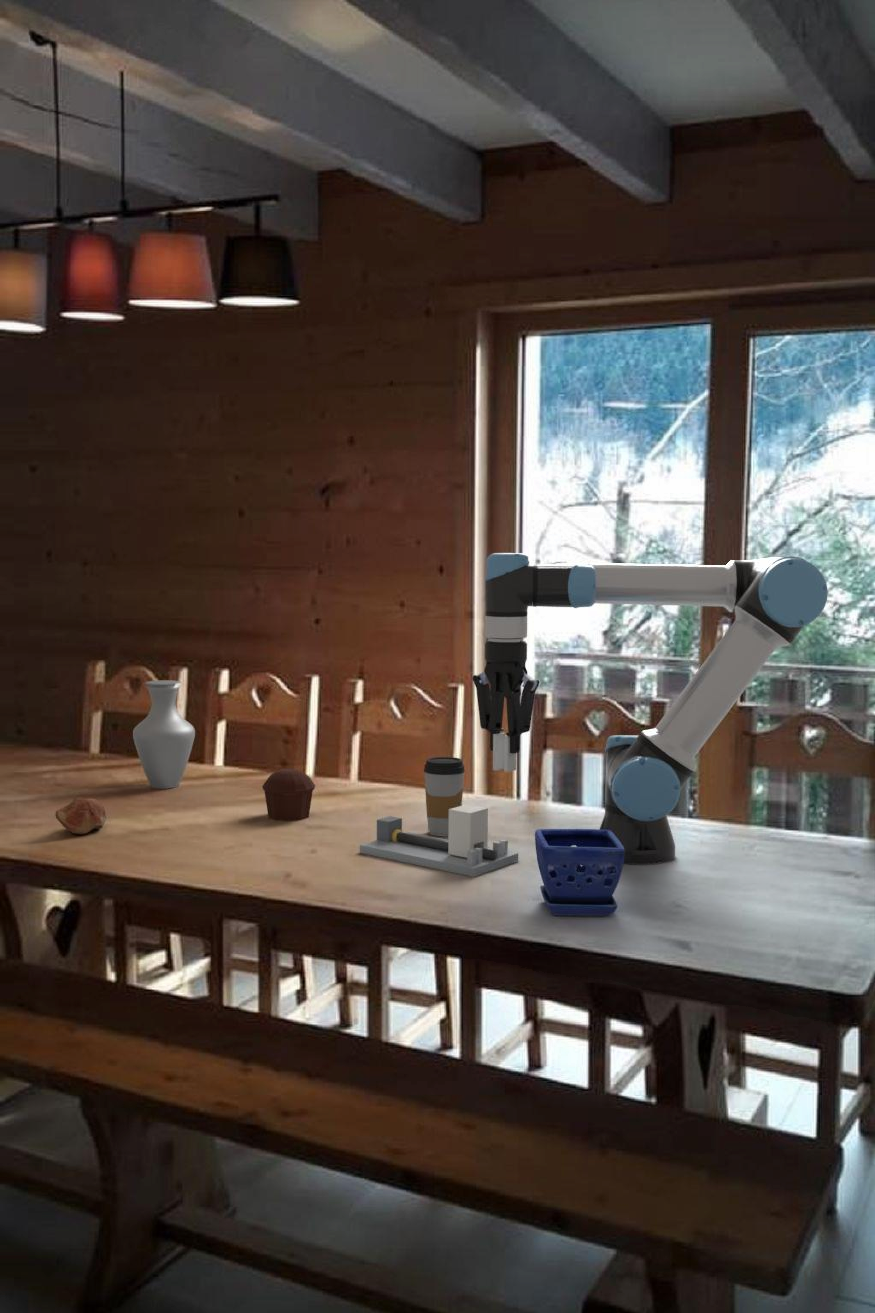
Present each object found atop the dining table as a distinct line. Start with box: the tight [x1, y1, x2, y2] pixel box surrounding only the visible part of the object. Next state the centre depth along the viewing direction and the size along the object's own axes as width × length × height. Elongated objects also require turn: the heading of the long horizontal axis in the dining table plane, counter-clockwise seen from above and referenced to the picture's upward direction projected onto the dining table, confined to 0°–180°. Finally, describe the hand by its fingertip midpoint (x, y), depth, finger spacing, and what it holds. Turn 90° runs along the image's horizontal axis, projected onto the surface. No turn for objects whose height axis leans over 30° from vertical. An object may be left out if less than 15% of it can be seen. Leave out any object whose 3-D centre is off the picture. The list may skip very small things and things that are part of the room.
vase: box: [132, 679, 196, 790], centre depth 309 cm, size 14×14×25 cm
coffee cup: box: [423, 756, 466, 837], centre depth 264 cm, size 8×8×15 cm
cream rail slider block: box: [447, 804, 489, 858], centre depth 241 cm, size 5×5×8 cm
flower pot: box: [534, 828, 625, 917], centre depth 213 cm, size 13×13×12 cm
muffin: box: [262, 768, 316, 822], centre depth 279 cm, size 12×11×10 cm
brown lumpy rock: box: [54, 796, 107, 835], centre depth 264 cm, size 13×8×10 cm
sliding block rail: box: [359, 815, 519, 877], centre depth 246 cm, size 27×14×6 cm, turn 52°
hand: (504, 769), depth 235 cm, fingers open, 2 cm apart
